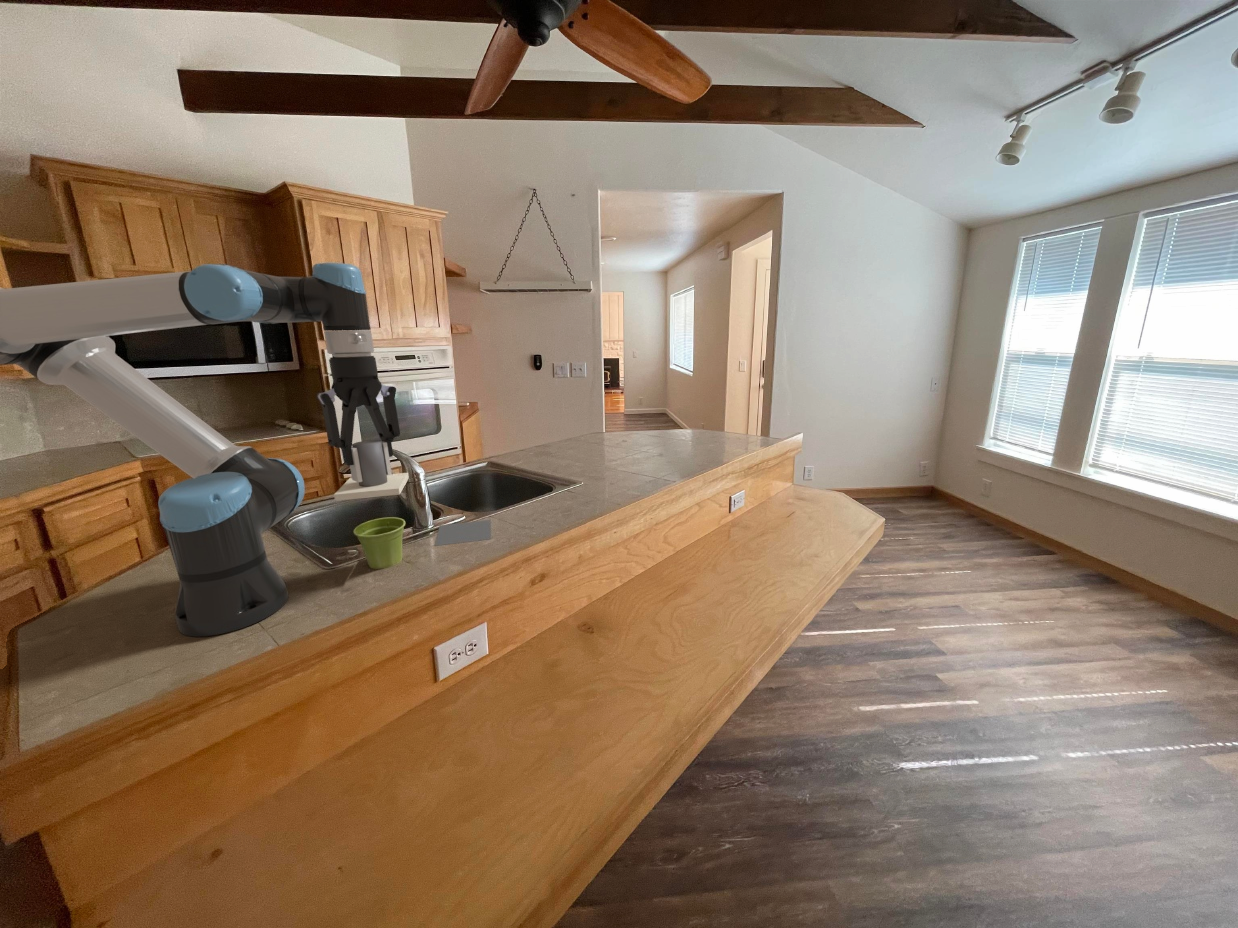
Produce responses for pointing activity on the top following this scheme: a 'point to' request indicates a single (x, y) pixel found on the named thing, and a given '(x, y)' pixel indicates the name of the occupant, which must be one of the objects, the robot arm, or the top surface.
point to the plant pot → (381, 541)
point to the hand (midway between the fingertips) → (372, 476)
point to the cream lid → (372, 475)
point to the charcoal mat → (463, 532)
